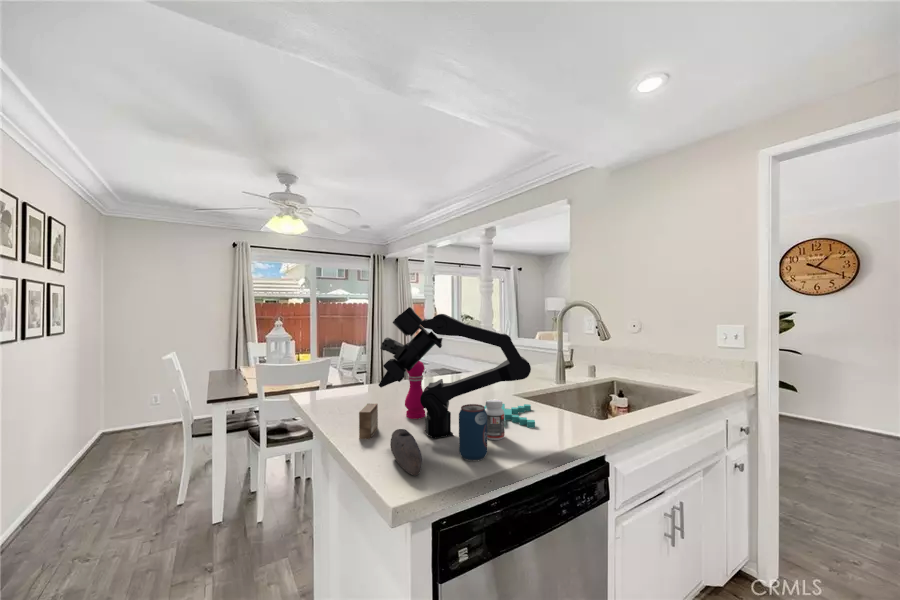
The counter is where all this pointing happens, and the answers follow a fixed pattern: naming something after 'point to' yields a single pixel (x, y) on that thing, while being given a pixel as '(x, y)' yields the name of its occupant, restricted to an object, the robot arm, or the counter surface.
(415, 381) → the pepper mill
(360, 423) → the walnut block
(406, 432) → the perforated stone tool
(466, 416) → the soda can
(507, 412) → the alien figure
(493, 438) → the pill bottle
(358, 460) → the counter surface
